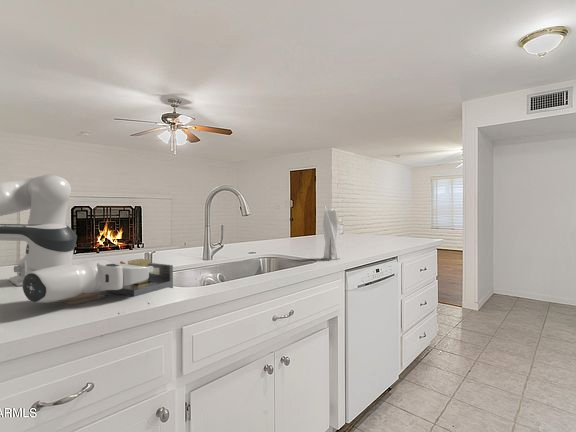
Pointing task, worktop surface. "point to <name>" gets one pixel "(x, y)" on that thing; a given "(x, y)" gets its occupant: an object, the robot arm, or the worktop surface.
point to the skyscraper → (330, 234)
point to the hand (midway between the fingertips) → (142, 267)
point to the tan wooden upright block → (140, 263)
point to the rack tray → (150, 281)
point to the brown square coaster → (81, 298)
